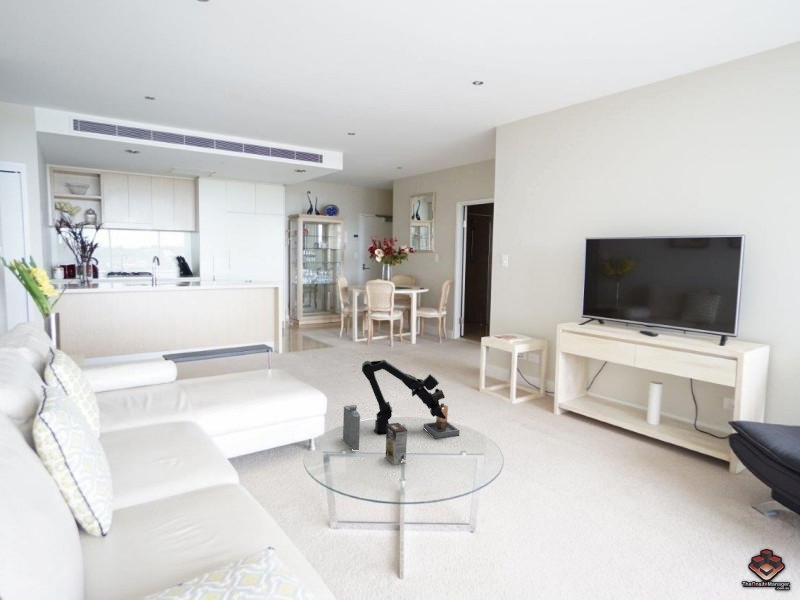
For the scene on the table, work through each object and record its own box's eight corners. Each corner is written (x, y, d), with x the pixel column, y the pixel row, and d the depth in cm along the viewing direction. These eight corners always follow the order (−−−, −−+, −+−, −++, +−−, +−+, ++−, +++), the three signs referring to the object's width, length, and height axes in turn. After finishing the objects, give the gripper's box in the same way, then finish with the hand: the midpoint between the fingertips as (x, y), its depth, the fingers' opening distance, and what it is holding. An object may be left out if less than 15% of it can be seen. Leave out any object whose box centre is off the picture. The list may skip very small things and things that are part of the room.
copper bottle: (442, 431, 245) (443, 406, 244) (433, 428, 249) (434, 403, 247) (448, 428, 250) (450, 404, 248) (439, 425, 253) (441, 401, 252)
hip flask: (342, 439, 236) (343, 401, 234) (349, 438, 238) (350, 400, 235) (353, 452, 222) (354, 411, 220) (361, 450, 224) (362, 410, 221)
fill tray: (435, 439, 240) (436, 433, 240) (423, 429, 253) (423, 423, 253) (459, 435, 246) (459, 430, 246) (445, 425, 259) (446, 420, 259)
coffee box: (384, 457, 218) (386, 424, 216) (397, 454, 221) (398, 422, 219) (393, 465, 210) (395, 431, 208) (406, 462, 213) (407, 429, 211)
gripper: (438, 391, 237) (459, 412, 239) (433, 380, 256) (452, 400, 258) (422, 406, 237) (443, 427, 240) (418, 394, 256) (437, 413, 258)
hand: (444, 416), depth 249 cm, fingers closed on copper bottle, 6 cm apart
